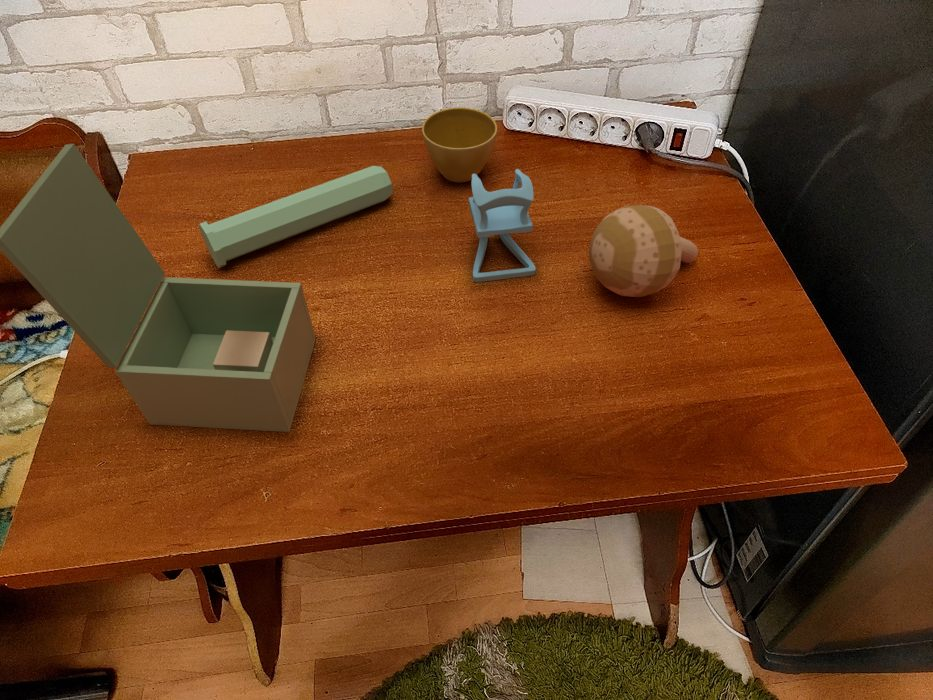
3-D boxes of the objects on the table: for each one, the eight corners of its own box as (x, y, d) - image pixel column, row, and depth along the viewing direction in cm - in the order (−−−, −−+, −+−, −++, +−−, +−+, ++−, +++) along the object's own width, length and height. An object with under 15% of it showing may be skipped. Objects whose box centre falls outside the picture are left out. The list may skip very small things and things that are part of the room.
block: (225, 392, 71) (212, 364, 68) (237, 358, 74) (226, 330, 71) (268, 394, 71) (257, 366, 68) (279, 360, 74) (269, 332, 71)
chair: (522, 231, 89) (527, 151, 79) (536, 275, 83) (543, 195, 74) (463, 238, 88) (461, 158, 79) (473, 283, 83) (473, 202, 73)
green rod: (380, 149, 90) (195, 214, 81) (402, 184, 89) (216, 254, 80) (376, 175, 96) (202, 239, 87) (396, 209, 94) (222, 277, 85)
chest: (316, 338, 77) (300, 282, 70) (289, 432, 69) (269, 379, 62) (190, 332, 78) (163, 276, 71) (149, 424, 70) (114, 371, 63)
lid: (73, 143, 59) (65, 144, 59) (-1, 238, 51) (-11, 239, 51) (165, 273, 71) (157, 273, 71) (116, 367, 63) (108, 368, 63)
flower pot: (509, 165, 98) (510, 120, 93) (472, 202, 93) (471, 157, 87) (450, 144, 102) (448, 100, 96) (411, 179, 96) (407, 134, 91)
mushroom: (736, 262, 80) (671, 243, 69) (671, 321, 85) (601, 312, 75) (685, 201, 85) (617, 175, 74) (626, 261, 90) (556, 244, 80)
